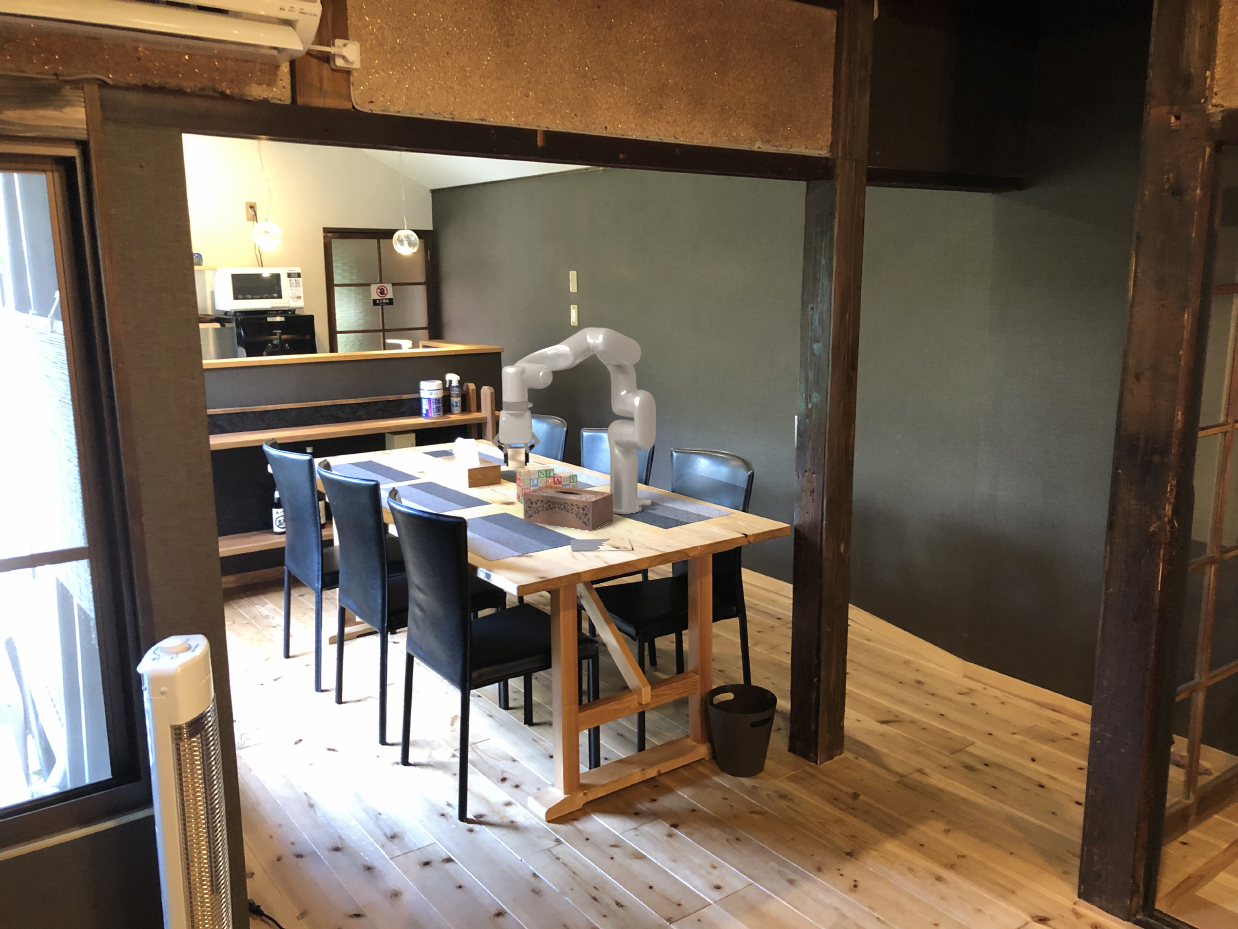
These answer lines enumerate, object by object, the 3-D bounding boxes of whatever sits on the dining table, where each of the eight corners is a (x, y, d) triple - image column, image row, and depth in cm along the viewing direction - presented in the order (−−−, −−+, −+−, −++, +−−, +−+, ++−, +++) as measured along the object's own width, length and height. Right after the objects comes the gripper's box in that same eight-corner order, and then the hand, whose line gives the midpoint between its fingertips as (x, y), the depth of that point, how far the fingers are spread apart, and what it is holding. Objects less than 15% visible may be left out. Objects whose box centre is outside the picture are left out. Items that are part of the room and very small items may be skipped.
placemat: (628, 539, 289) (628, 538, 289) (633, 550, 277) (633, 549, 277) (569, 540, 287) (569, 539, 287) (572, 551, 275) (572, 550, 275)
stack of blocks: (571, 495, 349) (571, 463, 346) (577, 499, 343) (577, 466, 341) (516, 500, 340) (515, 467, 338) (521, 504, 335) (521, 470, 332)
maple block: (524, 465, 291) (524, 446, 290) (525, 468, 286) (524, 449, 285) (508, 465, 290) (508, 446, 289) (508, 469, 285) (507, 449, 284)
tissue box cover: (523, 522, 310) (523, 492, 308) (547, 513, 323) (546, 484, 321) (591, 532, 298) (591, 501, 296) (613, 522, 311) (613, 492, 309)
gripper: (543, 404, 289) (544, 462, 293) (487, 405, 287) (488, 463, 291) (543, 407, 282) (544, 467, 285) (486, 408, 280) (488, 468, 283)
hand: (516, 464), depth 288 cm, fingers closed on maple block, 5 cm apart
